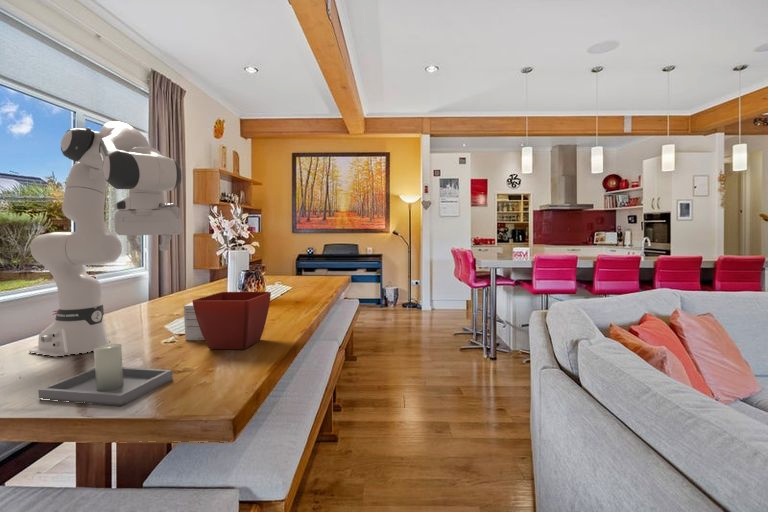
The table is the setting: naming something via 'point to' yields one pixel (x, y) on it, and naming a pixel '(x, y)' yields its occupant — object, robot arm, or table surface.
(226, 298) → the plant pot
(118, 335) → the table surface
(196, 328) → the supplement box
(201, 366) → the table surface
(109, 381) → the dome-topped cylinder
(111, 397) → the grey tray
